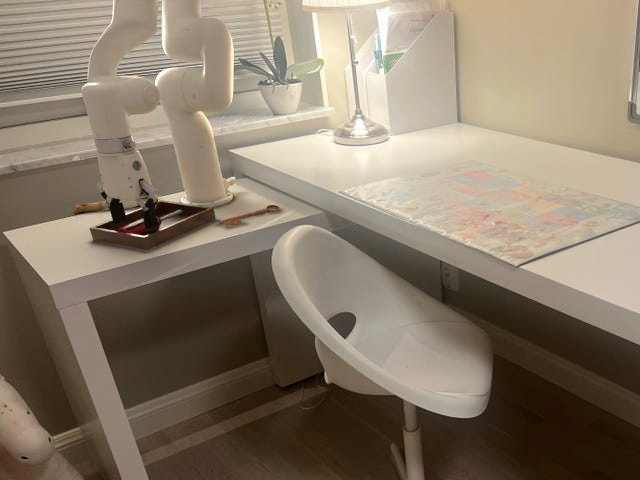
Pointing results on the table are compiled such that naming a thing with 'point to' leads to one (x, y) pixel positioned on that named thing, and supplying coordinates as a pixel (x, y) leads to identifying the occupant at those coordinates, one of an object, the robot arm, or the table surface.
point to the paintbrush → (104, 206)
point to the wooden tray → (167, 231)
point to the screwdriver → (139, 225)
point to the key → (237, 218)
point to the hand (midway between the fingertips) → (136, 224)
